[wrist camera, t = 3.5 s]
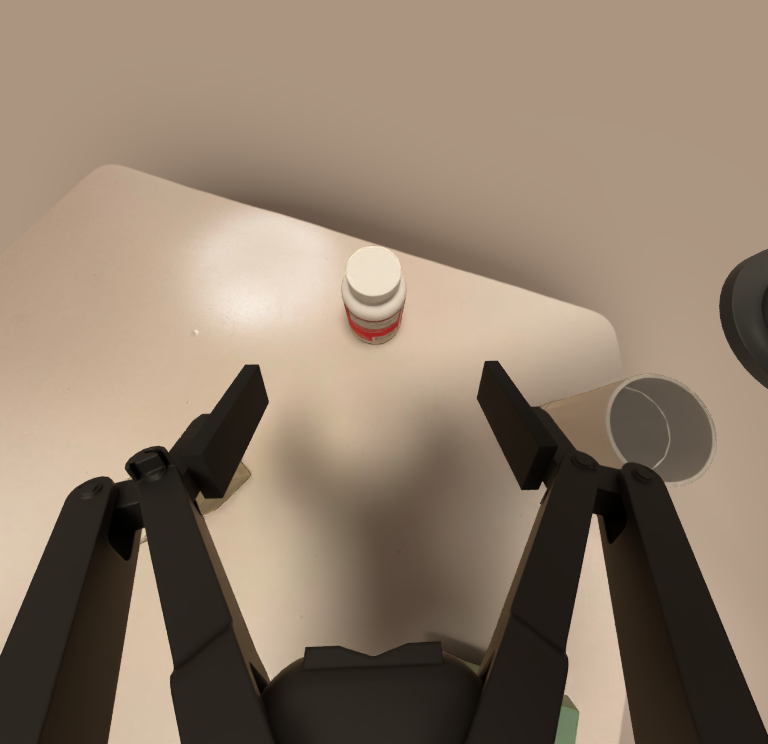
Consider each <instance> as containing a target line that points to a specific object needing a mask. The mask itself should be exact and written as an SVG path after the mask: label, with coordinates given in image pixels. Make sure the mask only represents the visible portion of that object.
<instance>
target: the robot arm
mask: <svg viewBox="0 0 768 744" xmlns="http://www.w3.org/2000/svg"><path fill="white" fill-rule="evenodd" d="M762 311H763V318H764V322H765V325H766V327H767V330H768V287H767V289H766V291H765V294H764V297H763V303H762ZM477 400H478V402H479V404H480V406H481V408H482V410H483V412H484V414H485V416H486V418H487V420H488V422H489V424H490V426H491V428H492V431H493V433H494V435H495V437H496V439H497V441H498V443H499V445H500V447H501V449H502V451H503V453H504V455H505V457H506V459H507V461H508V463H509V465H510V467H511V470H512V472H513V474H514V476H515V478H516V480H517V482H518V484H519V486H520V488H521V490H538V489H539V487H540V485H541V483H542V481H543V482H544V484H545V486H546V488H547V490H546V492H545V494H544V496H543V498H542V500H541V502H540V504H541V506H540V508H539V511H538V514H537V516H536V519H535V522H534V525H533V527H532V530H531V533H530V536H529V538H528V541H527V544H526V546H525V549H524V552H523V555H522V557H521V560H520V563H519V566H518V568H517V571H516V574H515V577H514V579H513V582H512V585H511V587H510V590H509V593H508V596H507V598H506V601H505V604H504V607H503V609H502V612H501V615H500V617H499V620H498V623H497V626H496V628H495V631H494V634H493V637H492V639H491V642H490V644H489V647H488V649H487V651H486V654H485V656H484V658H483V661H482V663H481V666H480V668H479V671H478V674H476V673H475V672H474V671H473V670H472V669H471V668H470V667H469V666H468V665H467V664H465V663H464V662H463V661H461V660H460V659H459V658H457V657H455V656H453V655H451V654H449V653H447V652H444V651H442V648H441V642H418V643H406V644H404V645H402V646H399V647H397V648H394V649H392V650H389V651H387V652H384V653H382V654H380V655H377V656H369V655H366V654H363V653H360V652H356V651H353V650H350V649H347V648H344V647H341V646H323V647H305V654H304V657H303V658H300V659H298V660H296V661H295V662H293V663H291V664H290V665H288V666H287V667H286V668H284V669H283V670H282V671H281V672H280V673H279V674H278V675H276V676H275V677H274V678H273V680H272V681H271V682H270V679H269V677H268V675H267V672H266V670H265V668H264V666H263V664H262V662H261V660H260V658H259V656H258V654H257V651H256V649H255V646H254V644H253V641H252V639H251V636H250V634H249V631H248V629H247V626H246V624H245V621H244V619H243V616H242V614H241V611H240V608H239V606H238V603H237V601H236V598H235V596H234V593H233V591H232V588H231V586H230V583H229V581H228V578H227V576H226V573H225V571H224V568H223V565H222V563H221V560H220V558H219V555H218V553H217V550H216V548H215V545H214V543H213V540H212V538H211V535H210V533H209V530H208V528H207V525H206V522H205V520H204V517H203V515H202V512H201V510H200V507H199V505H198V503H197V501H196V497H197V496H198V494H199V492H200V491H201V493H202V495H203V496H204V498H205V499H221V498H223V497H224V495H225V493H226V491H227V489H228V487H229V485H230V482H231V480H232V478H233V476H234V474H235V472H236V470H237V468H238V466H239V464H240V462H241V459H242V457H243V455H244V453H245V451H246V449H247V447H248V445H249V443H250V441H251V439H252V437H253V434H254V432H255V430H256V428H257V426H258V424H259V422H260V420H261V418H262V416H263V414H264V411H265V409H266V407H267V405H268V403H269V400H268V397H267V393H266V389H265V386H264V382H263V378H262V375H261V371H260V367H259V365H245V366H244V367H243V369H242V370H241V371H240V373H239V374H238V376H237V377H236V378H235V380H234V381H233V383H232V384H231V385H230V387H229V388H228V390H227V391H226V392H225V394H224V395H223V397H222V398H221V399H220V401H219V402H218V404H217V405H216V406H215V408H214V409H213V411H212V412H211V414H202V415H200V416H199V417H197V418H196V419H195V420H193V421H192V422H191V424H190V425H189V426H188V428H187V429H186V431H185V432H184V433H183V434H182V436H181V438H179V439H178V441H177V442H176V443H175V445H174V446H173V447H172V449H171V450H170V451H169V453H168V451H167V450H166V449H165V447H161V446H154V447H149V448H146V449H143V450H142V451H140V452H138V453H136V454H135V455H134V456H132V457H131V458H130V459H129V460H128V462H127V463H126V465H125V470H126V471H127V473H128V474H129V475H130V477H131V478H132V479H130V480H126V481H122V482H118V483H114V482H113V480H112V479H110V478H109V477H104V476H102V477H97V478H93V479H91V480H88V481H86V482H84V483H82V484H81V485H79V486H78V487H76V488H75V489H74V490H73V491H72V492H71V493H70V494H69V495H68V497H67V498H66V500H65V503H64V505H63V507H62V510H61V512H60V515H59V517H58V519H57V522H56V524H55V526H54V529H53V531H52V534H51V536H50V538H49V541H48V543H47V546H46V548H45V550H44V553H43V555H42V558H41V560H40V562H39V565H38V567H37V569H36V572H35V574H34V577H33V579H32V581H31V584H30V586H29V589H28V591H27V593H26V596H25V598H24V600H23V603H22V605H21V608H20V610H19V612H18V615H17V617H16V620H15V622H14V624H13V627H12V629H11V631H10V634H9V636H8V639H7V641H6V643H5V646H4V648H3V651H2V653H1V655H0V744H108V739H109V732H110V726H111V720H112V714H113V707H114V701H115V695H116V689H117V683H118V676H119V670H120V664H121V658H122V652H123V645H124V639H125V633H126V627H127V621H128V614H129V608H130V602H131V596H132V590H133V583H134V577H135V571H136V565H137V559H138V552H139V546H140V540H141V534H142V529H143V528H145V531H146V536H147V541H148V545H149V550H150V555H151V560H152V564H153V569H154V574H155V578H156V583H157V588H158V593H159V597H160V602H161V607H162V611H163V616H164V621H165V626H166V630H167V635H168V640H169V644H170V649H171V654H172V659H173V664H174V671H173V672H172V674H171V676H170V688H171V695H172V700H173V705H174V710H175V715H176V720H177V725H178V731H179V736H180V741H181V744H555V739H556V733H557V728H558V722H559V717H560V712H561V706H562V701H563V695H564V690H565V684H566V679H567V673H568V657H567V655H566V644H567V639H568V634H569V629H570V624H571V619H572V614H573V609H574V603H575V598H576V593H577V588H578V583H579V578H580V573H581V568H582V563H583V558H584V553H585V548H586V543H587V538H588V533H589V528H590V523H591V518H592V513H593V514H597V517H598V523H599V529H600V535H601V541H602V547H603V553H604V559H605V565H606V571H607V577H608V583H609V590H610V596H611V602H612V608H613V614H614V620H615V626H616V632H617V638H618V644H619V650H620V656H621V662H622V668H623V674H624V680H625V686H626V692H627V698H628V704H629V710H630V716H631V722H632V728H633V734H634V740H635V744H768V734H767V732H766V729H765V727H764V724H763V722H762V720H761V717H760V715H759V712H758V710H757V707H756V705H755V703H754V700H753V698H752V695H751V693H750V690H749V688H748V685H747V683H746V681H745V678H744V676H743V673H742V671H741V668H740V666H739V664H738V661H737V659H736V656H735V654H734V651H733V649H732V646H731V644H730V642H729V639H728V637H727V634H726V632H725V629H724V627H723V624H722V622H721V619H720V617H719V615H718V612H717V610H716V607H715V605H714V602H713V600H712V598H711V595H710V593H709V590H708V588H707V585H706V583H705V580H704V578H703V576H702V573H701V571H700V568H699V566H698V563H697V561H696V558H695V556H694V554H693V551H692V549H691V546H690V544H689V542H688V539H687V537H686V534H685V532H684V529H683V527H682V524H681V522H680V519H679V517H678V515H677V512H676V510H675V507H674V505H673V502H672V500H671V497H670V495H669V493H668V490H667V488H666V485H665V483H664V481H663V479H662V478H661V476H659V475H658V474H657V473H656V472H655V471H654V470H652V469H650V468H649V467H647V466H644V465H642V464H639V463H634V462H629V463H625V464H624V465H623V466H622V467H621V469H616V468H612V467H607V466H603V465H599V463H598V462H597V461H596V460H595V459H594V458H593V457H592V456H590V455H588V454H586V453H584V452H581V451H578V450H576V448H575V447H574V446H573V444H572V443H571V442H570V441H569V439H568V438H567V437H566V435H565V434H564V433H563V431H562V430H561V429H559V426H558V425H557V424H556V422H554V420H553V418H552V417H551V416H550V415H549V413H547V412H546V411H545V410H543V409H542V408H541V407H530V405H529V404H528V403H527V401H526V400H525V398H524V397H523V395H522V394H521V393H520V391H519V390H518V388H517V387H516V386H515V384H514V383H513V381H512V380H511V379H510V377H509V376H508V374H507V373H506V372H505V370H504V369H503V367H502V366H501V365H500V363H499V362H498V361H485V363H484V368H483V372H482V377H481V381H480V386H479V390H478V395H477Z"/></svg>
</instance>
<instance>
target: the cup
mask: <svg viewBox="0 0 768 744" xmlns="http://www.w3.org/2000/svg"><path fill="white" fill-rule="evenodd" d="M541 408H542V409H543V410H545V411H546V412H547V413H549V415H550V416H551V417H552V418H553V420H554V422H556V424H557V425H558V426H559V429H561V430H562V431H563V433H564V434H565V435H566V437H567V438H568V439H569V441H570V442H571V443H572V444H573V446H574V447H575V448H576V450H578V451H581V452H584V453H586V454H588V455H590V456H592V457H593V458H594V459H595V460H596V461H597V462H598V463H599V465H603V466H607V467H612V468H616V469H621V467H622V466H623V465H624V464H625V463H629V462H634V463H639V464H642V465H644V466H647V467H649V468H650V469H652V470H654V471H655V472H656V473H657V474H658V475H659V476H661V478H662V479H663V481H664V483H665V485H666V486H668V487H677V486H683V485H687V484H689V483H692V482H694V481H696V480H697V479H699V478H700V477H701V476H702V475H703V474H704V473H705V472H706V471H707V470H708V469H709V467H710V465H711V464H712V461H713V459H714V456H715V452H716V443H717V439H716V431H715V426H714V423H713V420H712V418H711V415H710V413H709V411H708V409H707V408H706V406H705V405H704V403H703V402H702V401H701V399H700V398H699V397H698V396H697V395H696V394H695V393H694V392H693V391H691V389H689V388H688V387H687V386H685V385H684V384H682V383H681V382H679V381H677V380H675V379H672V378H670V377H667V376H663V375H658V374H641V375H637V376H633V377H631V378H627V379H624V380H621V381H619V382H616V383H613V384H610V385H607V386H604V387H601V388H598V389H595V390H592V391H589V392H586V393H582V394H579V395H576V396H573V397H570V398H566V399H563V400H560V401H556V402H551V403H547V404H545V405H543V406H541Z"/></svg>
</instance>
